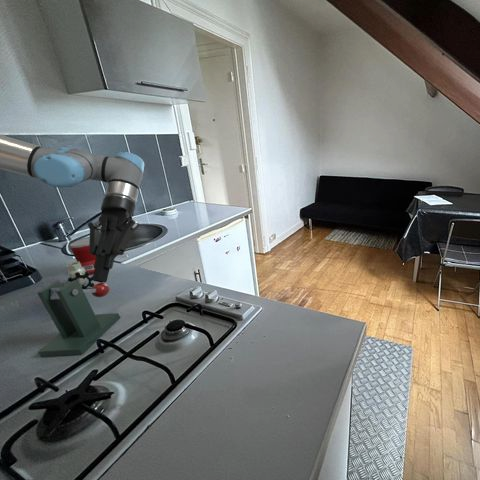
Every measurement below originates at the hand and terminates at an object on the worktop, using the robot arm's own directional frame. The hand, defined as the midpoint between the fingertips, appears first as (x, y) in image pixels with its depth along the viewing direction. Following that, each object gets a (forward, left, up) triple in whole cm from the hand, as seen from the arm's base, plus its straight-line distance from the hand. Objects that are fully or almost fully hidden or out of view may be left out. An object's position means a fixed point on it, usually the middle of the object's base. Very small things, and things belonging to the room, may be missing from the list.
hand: (99, 281), depth 67 cm
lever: (0, -6, -1) cm, 6 cm away
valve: (-20, +15, -9) cm, 27 cm away
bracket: (0, -9, -9) cm, 13 cm away
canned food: (-24, +26, -9) cm, 37 cm away
